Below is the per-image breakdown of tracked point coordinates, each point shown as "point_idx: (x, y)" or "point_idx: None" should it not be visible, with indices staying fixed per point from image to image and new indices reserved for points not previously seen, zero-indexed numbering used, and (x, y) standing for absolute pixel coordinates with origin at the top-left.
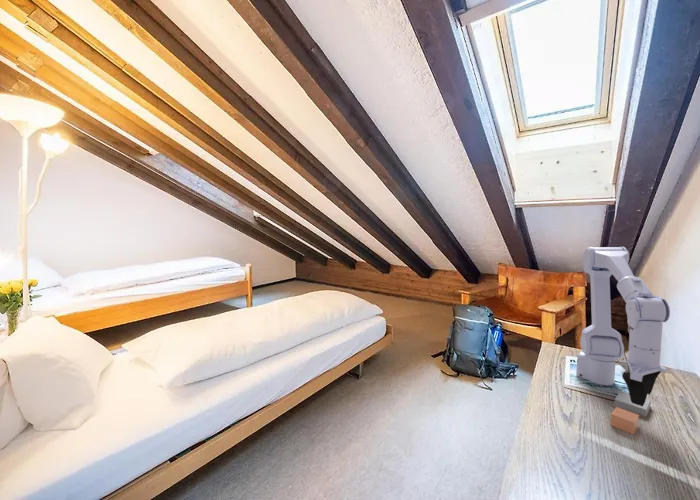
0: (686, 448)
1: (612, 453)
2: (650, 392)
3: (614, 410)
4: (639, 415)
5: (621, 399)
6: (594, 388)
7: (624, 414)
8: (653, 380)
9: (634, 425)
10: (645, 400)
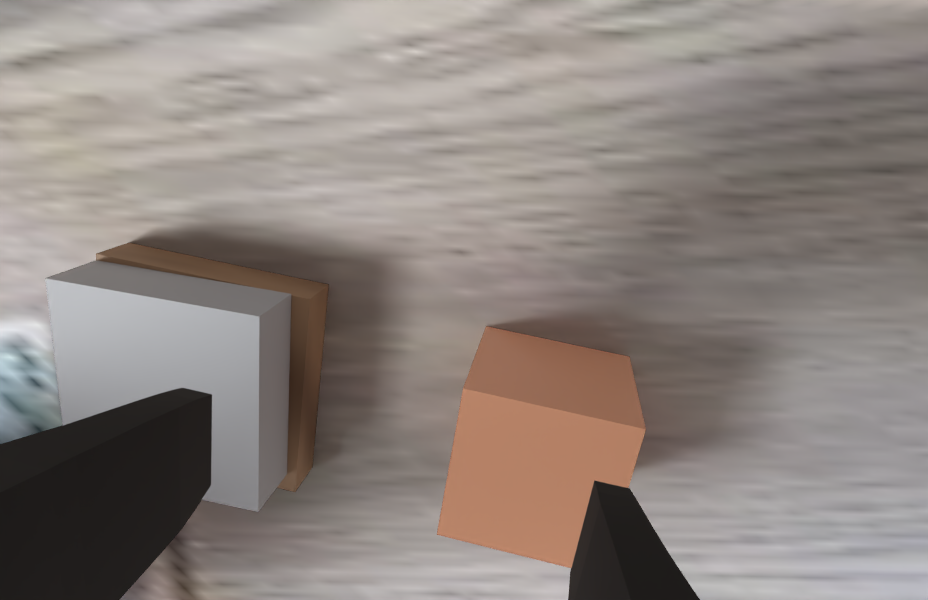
0: (504, 38)
1: (919, 473)
2: (195, 405)
3: (517, 549)
4: (299, 331)
5: (220, 471)
6: None
7: (538, 488)
8: (23, 501)
9: (626, 408)
10: (609, 519)
